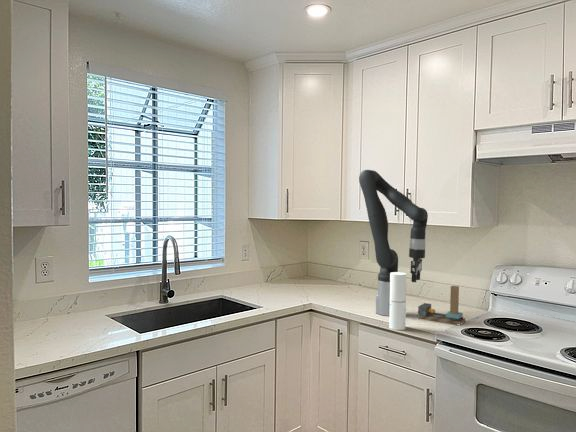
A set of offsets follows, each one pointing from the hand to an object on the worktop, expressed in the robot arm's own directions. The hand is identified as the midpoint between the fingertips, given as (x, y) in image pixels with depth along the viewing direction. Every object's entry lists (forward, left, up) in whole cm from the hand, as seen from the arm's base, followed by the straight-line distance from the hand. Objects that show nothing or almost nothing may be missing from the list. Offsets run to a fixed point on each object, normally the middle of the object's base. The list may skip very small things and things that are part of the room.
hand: (415, 280), depth 210 cm
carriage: (+17, +6, -16) cm, 24 cm away
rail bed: (+11, +6, -19) cm, 23 cm away
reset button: (+6, +6, -16) cm, 19 cm away
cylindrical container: (-1, -20, -19) cm, 27 cm away
